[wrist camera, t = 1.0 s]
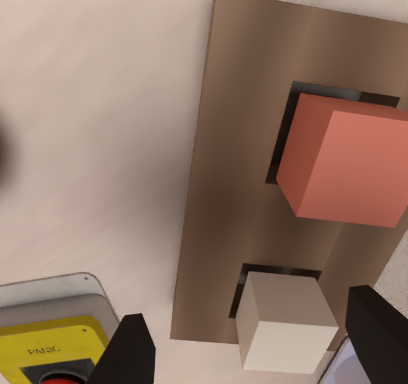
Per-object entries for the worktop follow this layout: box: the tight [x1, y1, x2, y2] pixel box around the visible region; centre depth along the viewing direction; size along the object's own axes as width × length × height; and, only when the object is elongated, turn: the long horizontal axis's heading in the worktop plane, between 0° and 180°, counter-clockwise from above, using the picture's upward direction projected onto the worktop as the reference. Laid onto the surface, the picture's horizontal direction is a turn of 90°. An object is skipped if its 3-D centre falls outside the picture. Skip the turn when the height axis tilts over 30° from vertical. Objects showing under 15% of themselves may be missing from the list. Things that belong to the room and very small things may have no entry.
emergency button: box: [0, 272, 120, 384], centre depth 23 cm, size 9×4×15 cm
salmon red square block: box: [276, 93, 408, 228], centre depth 11 cm, size 4×4×3 cm
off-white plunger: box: [236, 271, 339, 374], centre depth 16 cm, size 4×4×3 cm
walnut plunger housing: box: [170, 0, 408, 351], centre depth 17 cm, size 12×20×3 cm, turn 172°
